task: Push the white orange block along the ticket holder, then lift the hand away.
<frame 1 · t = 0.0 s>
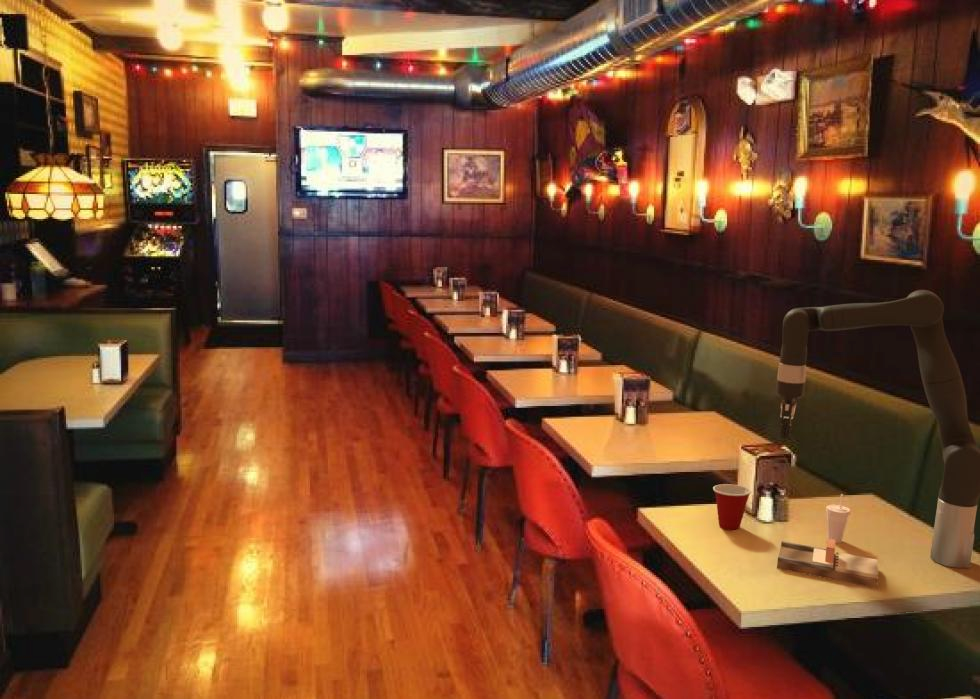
hand: (785, 434, 237), 29 cm above the table, fingers open, 8 cm apart
ticket holder: (826, 568, 218), on the table
smoothie: (834, 541, 237), on the table
plastic cup: (728, 527, 244), on the table
white orange block: (823, 551, 218), point 5 cm above the table, slide at 0.0 cm
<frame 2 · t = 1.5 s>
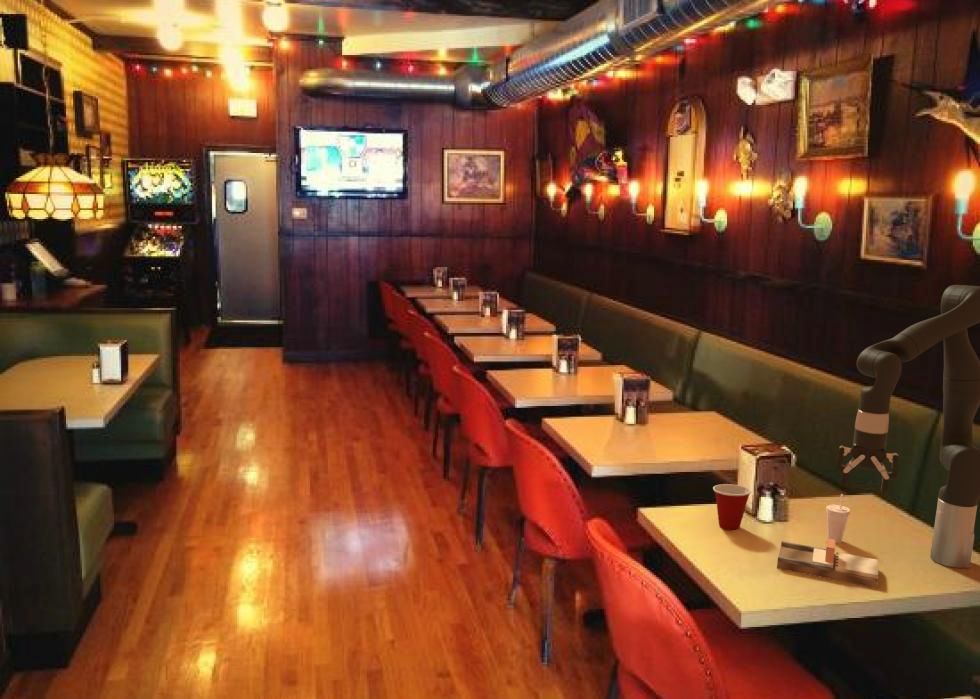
hand: (863, 489, 212), 23 cm above the table, fingers open, 8 cm apart
nothing on the table moved.
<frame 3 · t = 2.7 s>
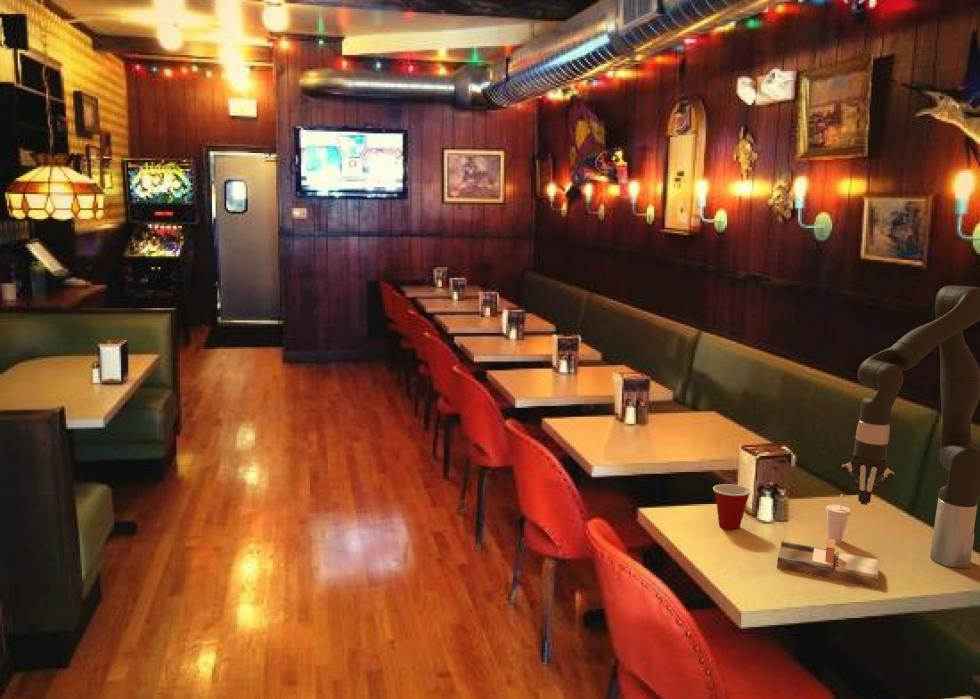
hand: (863, 503, 212), 19 cm above the table, fingers closed
nothing on the table moved.
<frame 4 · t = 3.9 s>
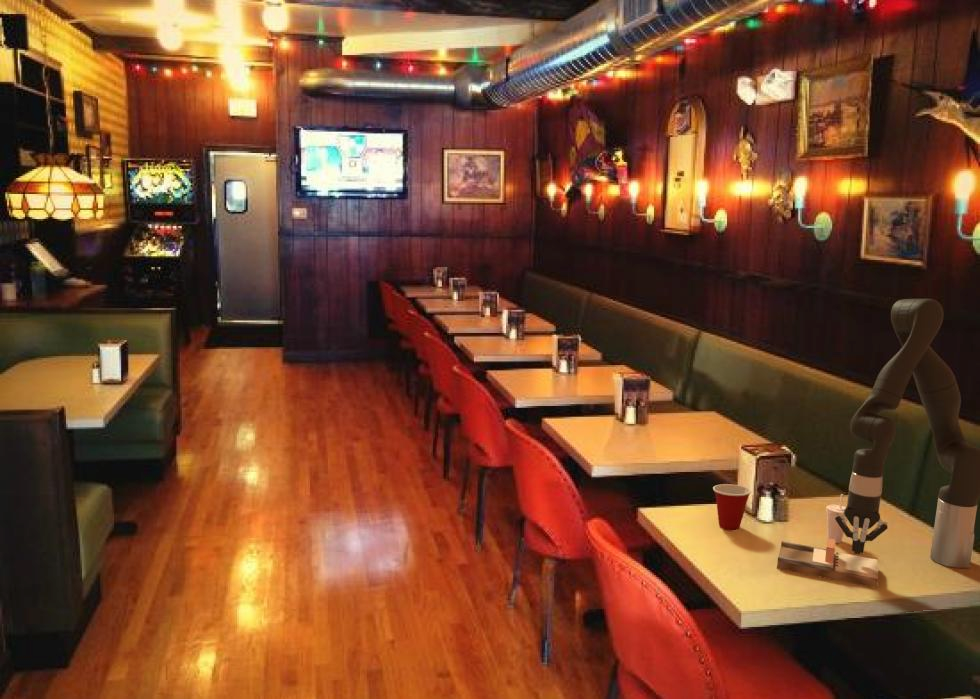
hand: (857, 553, 214), 6 cm above the table, fingers closed
nothing on the table moved.
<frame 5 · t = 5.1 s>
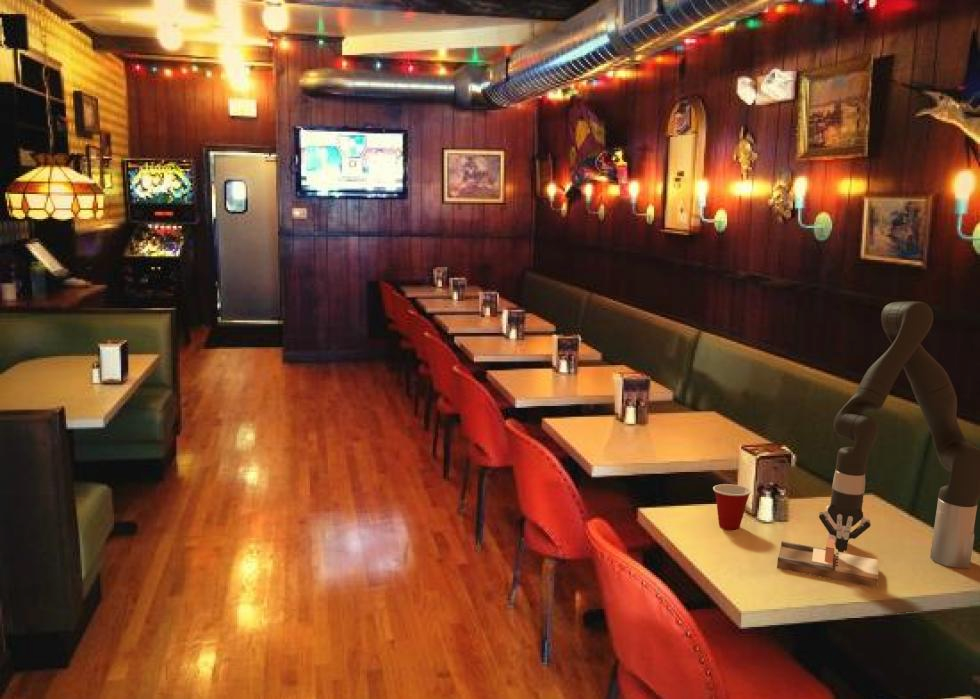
hand: (840, 551, 216), 6 cm above the table, fingers closed
white orange block: (823, 551, 218), point 5 cm above the table, slide at 0.1 cm, touching gripper
everything else where it was.
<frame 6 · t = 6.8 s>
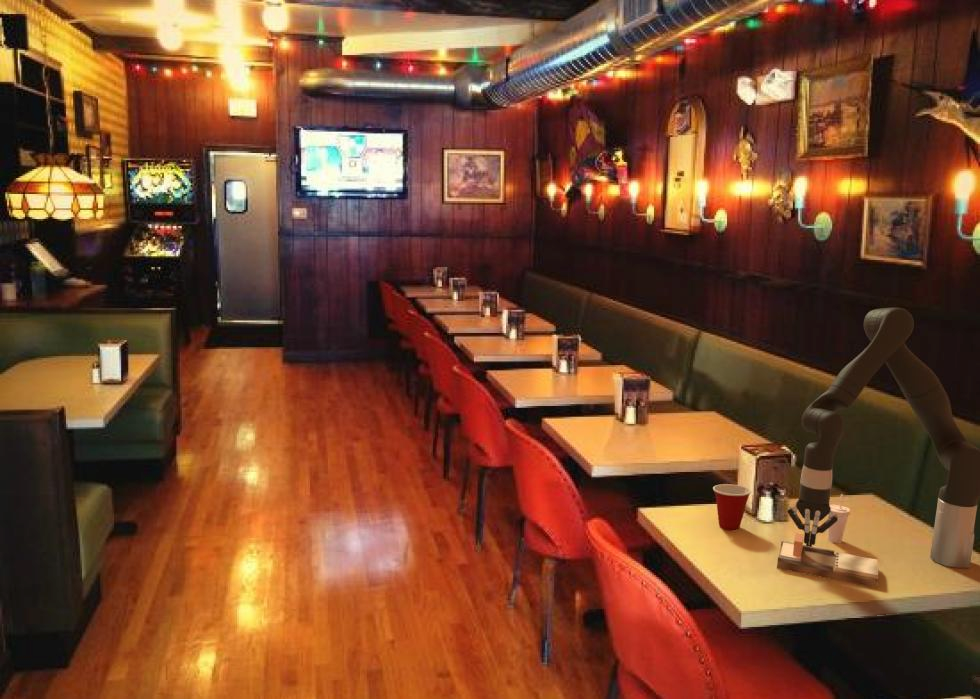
hand: (808, 545, 219), 6 cm above the table, fingers closed
white orange block: (792, 545, 221), point 5 cm above the table, slide at 7.9 cm, touching gripper
everything else where it was.
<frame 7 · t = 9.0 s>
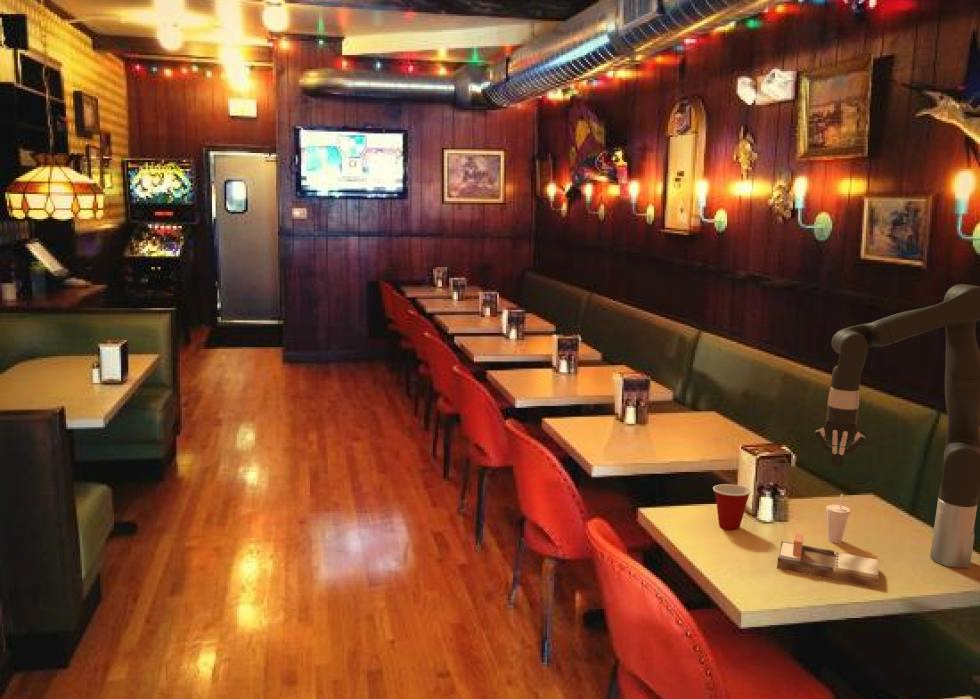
hand: (836, 466, 223), 25 cm above the table, fingers closed
white orange block: (791, 545, 221), point 5 cm above the table, slide at 8.0 cm
everything else where it was.
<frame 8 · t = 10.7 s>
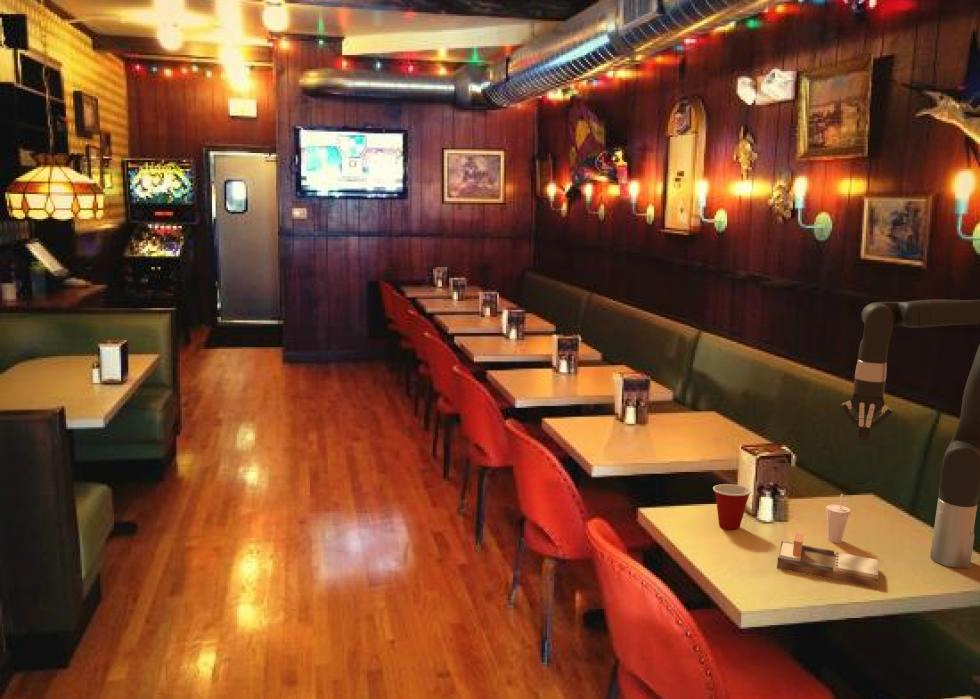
hand: (862, 439, 224), 32 cm above the table, fingers closed
nothing on the table moved.
at the end: white orange block slide at 8.0 cm; smoothie moved 0.2 cm from its start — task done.
